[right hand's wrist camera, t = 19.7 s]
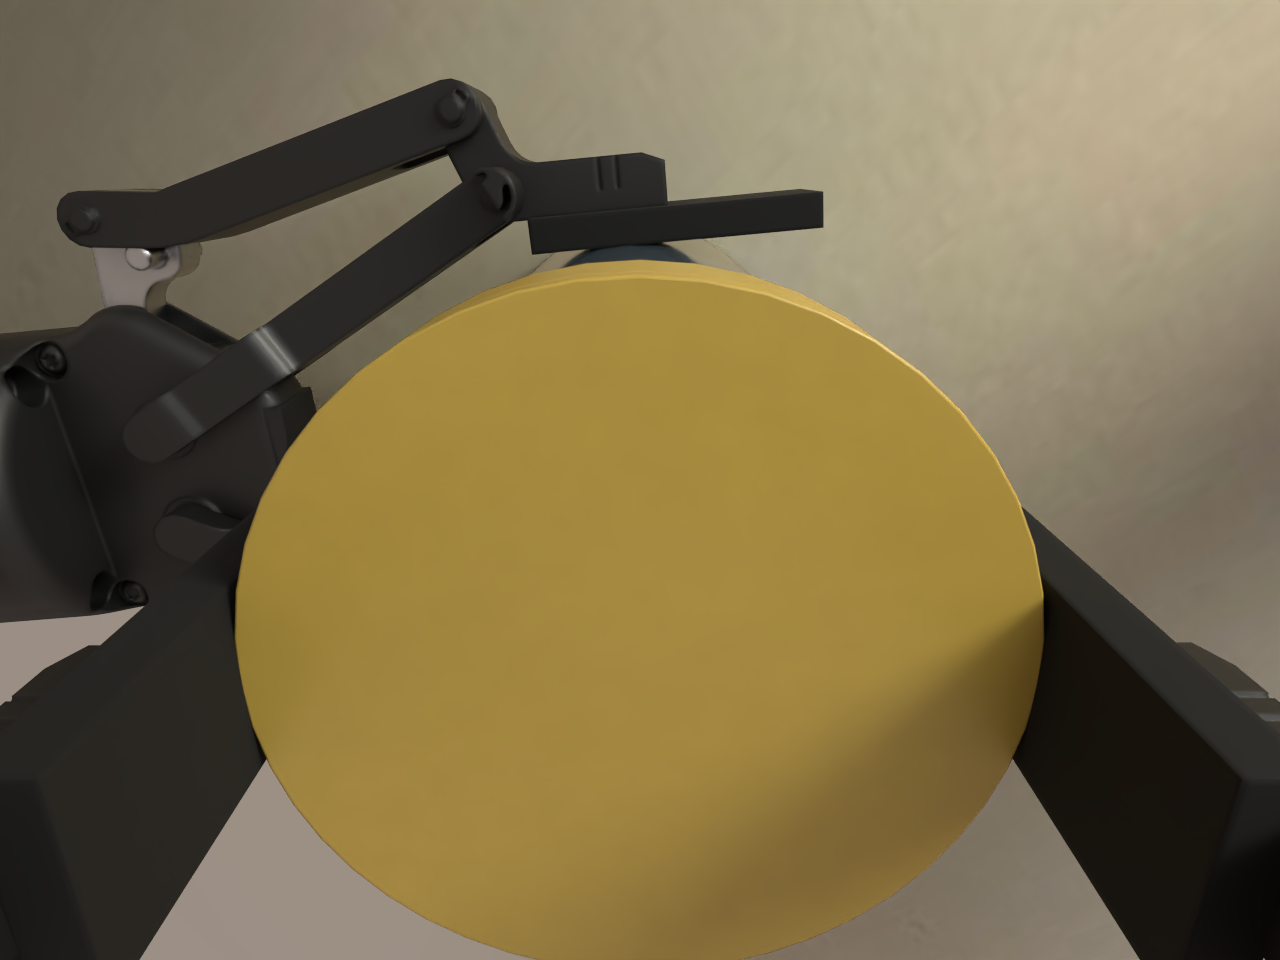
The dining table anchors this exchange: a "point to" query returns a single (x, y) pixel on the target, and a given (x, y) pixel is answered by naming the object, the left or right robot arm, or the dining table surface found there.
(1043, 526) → the right robot arm
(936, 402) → the lid
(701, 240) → the jar
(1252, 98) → the dining table surface
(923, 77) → the dining table surface
